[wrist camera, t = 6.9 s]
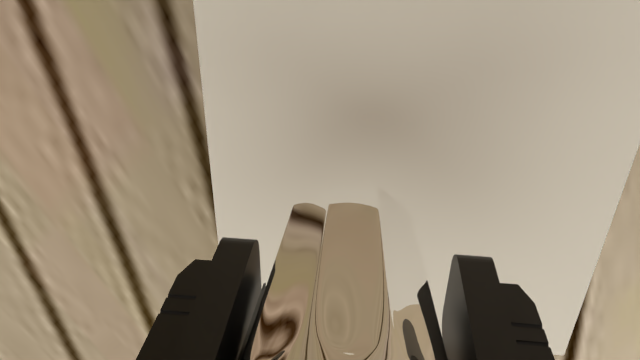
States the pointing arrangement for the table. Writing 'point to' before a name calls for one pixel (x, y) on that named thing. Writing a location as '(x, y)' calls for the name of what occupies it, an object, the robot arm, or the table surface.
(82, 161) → the table surface
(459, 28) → the mat
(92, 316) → the table surface
